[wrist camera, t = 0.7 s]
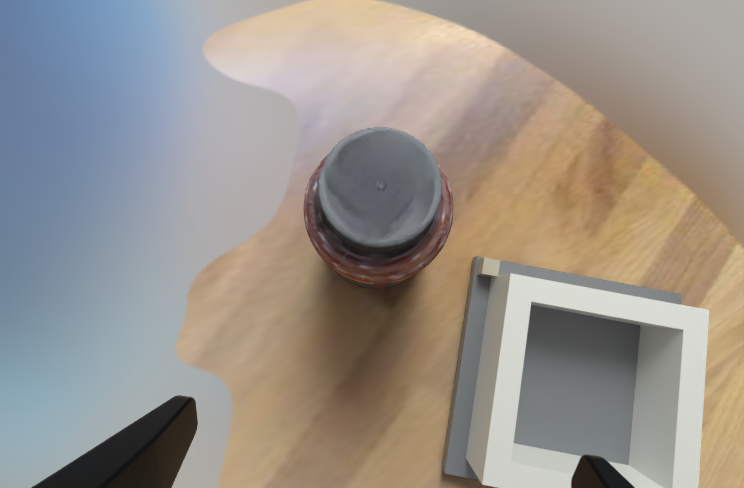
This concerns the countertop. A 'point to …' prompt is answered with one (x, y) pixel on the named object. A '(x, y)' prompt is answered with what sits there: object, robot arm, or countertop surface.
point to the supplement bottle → (378, 207)
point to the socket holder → (575, 380)
